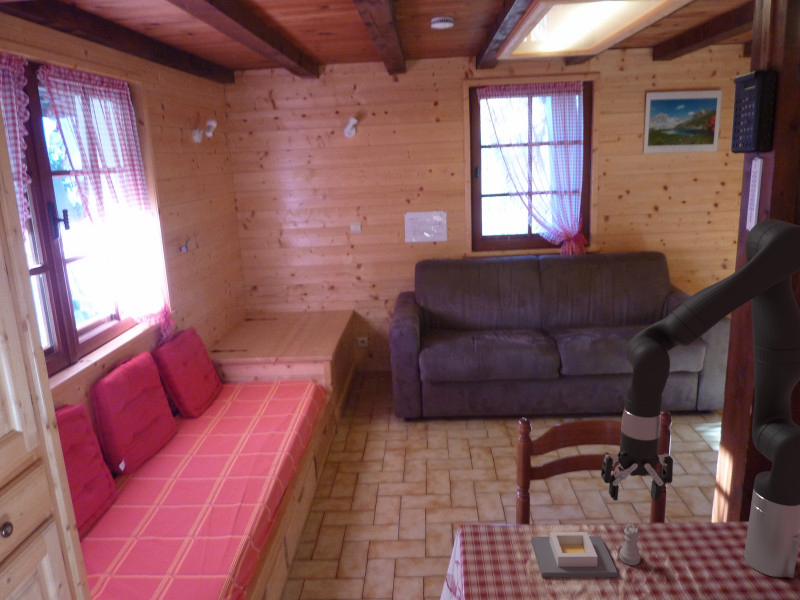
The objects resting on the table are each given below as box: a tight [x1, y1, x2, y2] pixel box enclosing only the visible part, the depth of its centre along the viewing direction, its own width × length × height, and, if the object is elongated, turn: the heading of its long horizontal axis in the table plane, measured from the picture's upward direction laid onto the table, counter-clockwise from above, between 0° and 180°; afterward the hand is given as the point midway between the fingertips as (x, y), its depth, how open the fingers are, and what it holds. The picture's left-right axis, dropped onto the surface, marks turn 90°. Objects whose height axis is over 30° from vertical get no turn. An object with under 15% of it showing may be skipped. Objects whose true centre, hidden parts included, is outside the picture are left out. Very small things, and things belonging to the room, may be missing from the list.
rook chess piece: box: [618, 524, 641, 566], centre depth 131 cm, size 4×4×8 cm
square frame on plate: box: [530, 531, 618, 578], centre depth 132 cm, size 16×12×4 cm
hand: (634, 498), depth 128 cm, fingers open, 8 cm apart
